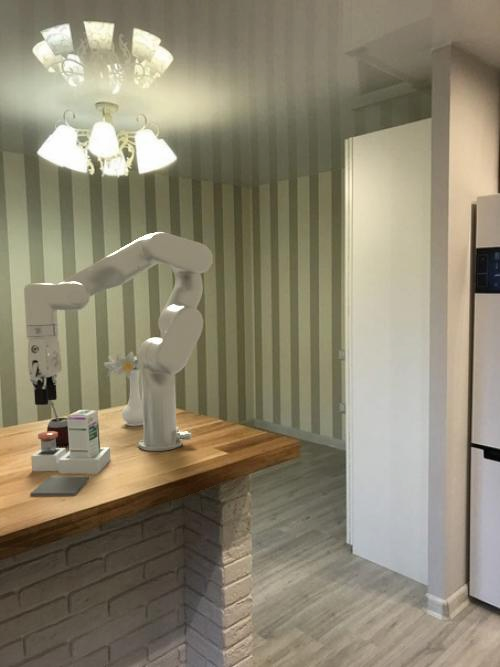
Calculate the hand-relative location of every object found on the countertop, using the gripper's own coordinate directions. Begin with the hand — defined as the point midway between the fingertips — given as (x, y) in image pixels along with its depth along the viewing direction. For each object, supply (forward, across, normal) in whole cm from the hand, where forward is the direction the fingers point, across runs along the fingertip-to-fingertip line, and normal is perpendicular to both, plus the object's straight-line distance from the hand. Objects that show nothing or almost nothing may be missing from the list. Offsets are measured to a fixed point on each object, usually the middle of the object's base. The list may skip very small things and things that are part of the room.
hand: (46, 401), depth 135 cm
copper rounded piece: (+14, 0, 0) cm, 14 cm away
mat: (+17, -14, -8) cm, 24 cm away
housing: (+17, 0, -6) cm, 18 cm away
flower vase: (+18, +42, -12) cm, 47 cm away
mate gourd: (+18, +18, +4) cm, 26 cm away
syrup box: (+18, 0, -10) cm, 20 cm away
